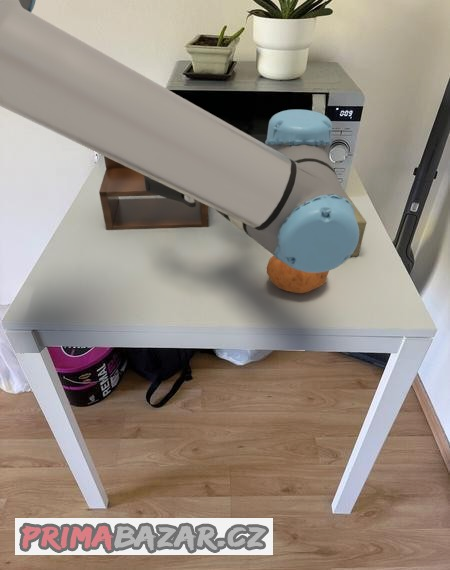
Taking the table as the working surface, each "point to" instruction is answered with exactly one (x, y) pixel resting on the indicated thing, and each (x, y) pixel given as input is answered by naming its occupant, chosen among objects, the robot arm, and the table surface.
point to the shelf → (142, 203)
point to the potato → (293, 277)
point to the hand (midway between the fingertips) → (175, 153)
